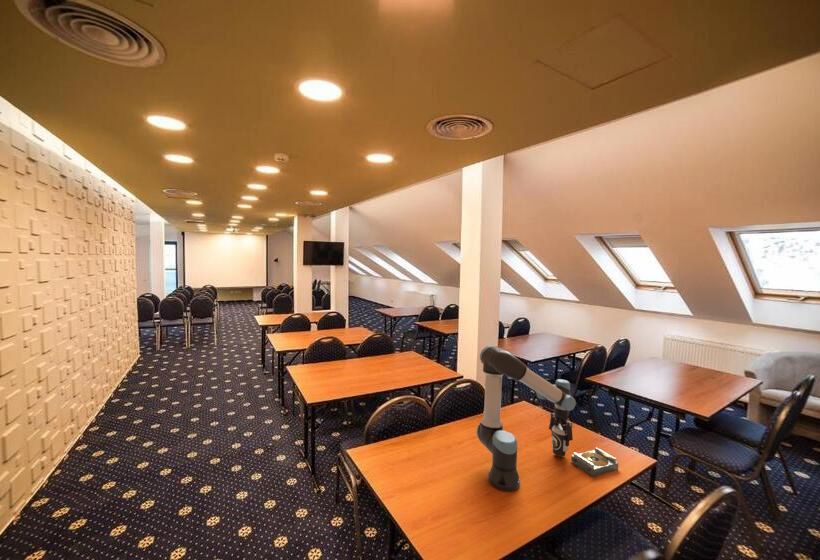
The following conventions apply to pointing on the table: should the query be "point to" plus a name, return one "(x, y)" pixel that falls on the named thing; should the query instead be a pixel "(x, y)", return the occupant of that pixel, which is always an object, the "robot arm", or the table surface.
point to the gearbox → (595, 462)
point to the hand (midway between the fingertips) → (559, 447)
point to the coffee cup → (558, 440)
